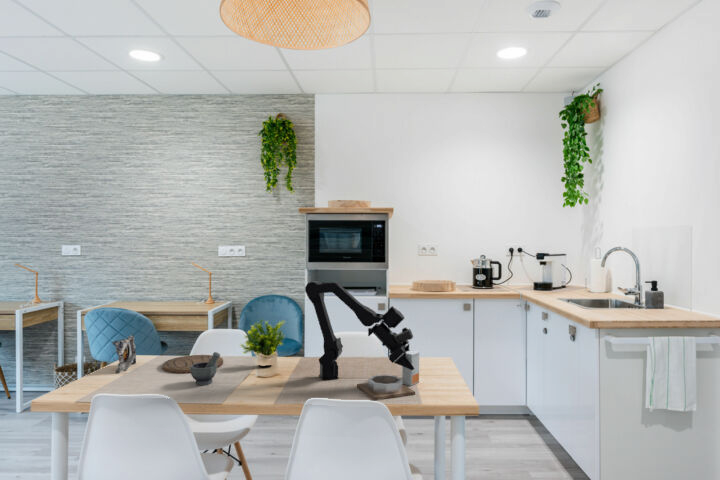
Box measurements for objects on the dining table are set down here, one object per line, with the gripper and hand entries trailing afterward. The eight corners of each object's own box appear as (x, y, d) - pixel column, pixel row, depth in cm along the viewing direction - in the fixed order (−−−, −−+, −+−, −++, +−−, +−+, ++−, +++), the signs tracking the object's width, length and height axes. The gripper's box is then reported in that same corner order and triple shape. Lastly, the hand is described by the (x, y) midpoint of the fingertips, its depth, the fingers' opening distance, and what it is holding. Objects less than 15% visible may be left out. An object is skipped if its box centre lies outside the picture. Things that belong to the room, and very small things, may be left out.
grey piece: (126, 364, 201) (126, 334, 201) (136, 364, 201) (136, 334, 201) (111, 374, 186) (112, 342, 186) (122, 373, 186) (123, 341, 187)
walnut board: (374, 400, 156) (374, 397, 156) (356, 386, 171) (356, 384, 171) (415, 394, 162) (415, 391, 162) (394, 381, 177) (394, 379, 177)
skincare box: (411, 386, 172) (411, 354, 172) (401, 384, 174) (402, 352, 174) (419, 382, 177) (419, 351, 177) (410, 380, 179) (410, 350, 179)
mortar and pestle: (185, 386, 170) (185, 354, 170) (197, 379, 179) (197, 348, 179) (214, 387, 169) (214, 355, 169) (224, 380, 178) (224, 349, 178)
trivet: (215, 356, 217) (215, 352, 217) (229, 369, 195) (229, 364, 195) (158, 363, 204) (158, 359, 204) (167, 377, 182) (167, 372, 182)
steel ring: (377, 394, 159) (377, 386, 159) (364, 385, 170) (364, 377, 170) (407, 390, 164) (407, 382, 164) (392, 381, 174) (392, 373, 174)
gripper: (397, 326, 167) (428, 358, 165) (403, 318, 186) (430, 346, 183) (376, 346, 169) (406, 378, 166) (384, 336, 187) (411, 365, 185)
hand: (414, 366), depth 175 cm, fingers open, 9 cm apart
